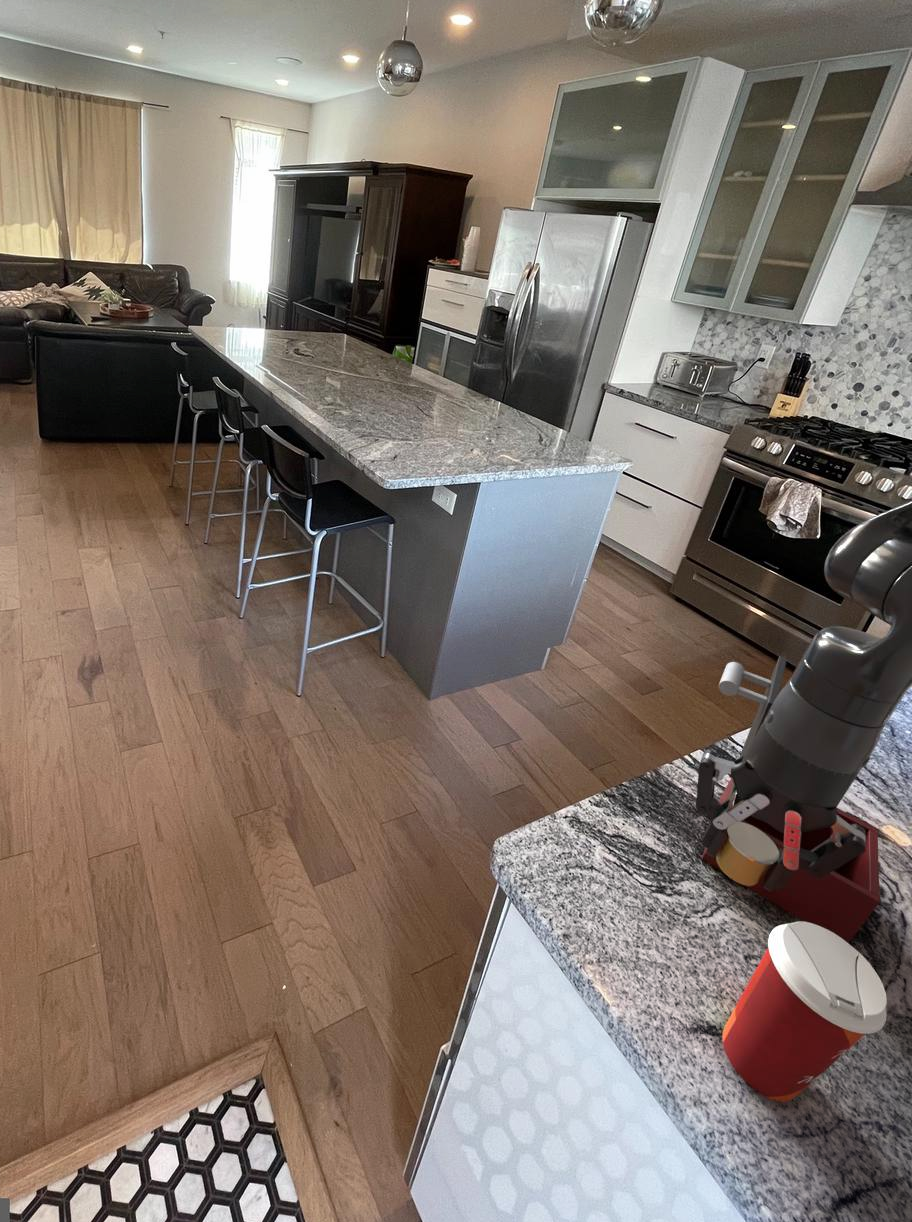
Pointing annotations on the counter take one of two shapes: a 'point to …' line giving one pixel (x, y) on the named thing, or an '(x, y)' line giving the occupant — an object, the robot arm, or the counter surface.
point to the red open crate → (823, 880)
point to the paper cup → (802, 1010)
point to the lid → (752, 694)
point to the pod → (746, 853)
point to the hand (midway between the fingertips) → (738, 865)
